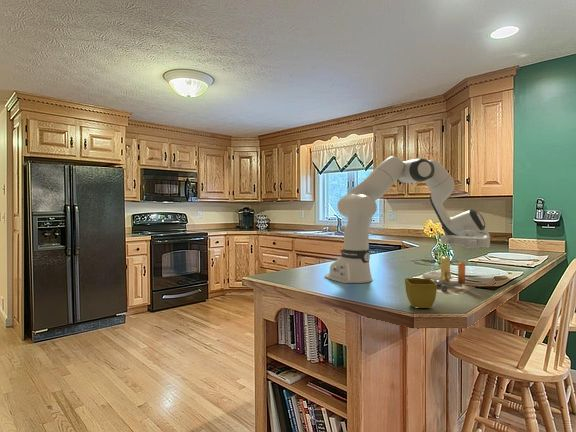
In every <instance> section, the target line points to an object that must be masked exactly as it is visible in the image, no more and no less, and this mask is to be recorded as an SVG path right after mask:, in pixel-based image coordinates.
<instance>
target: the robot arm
mask: <svg viewBox="0 0 576 432" xmlns="http://www.w3.org/2000/svg"><path fill="white" fill-rule="evenodd" d="M396 182H397V183H400V184H416V183H425V184H426V186H427V187H428V188H429V191H430V194H429V201H430V204H431V206H432V209H433V211H434V212H435V214H436V217H437V218H438V221H439V222H440V225H441V228H442V230H443V233H444V234H445V235H441V236H440V243H441V244H444V245H457V246H462V248H464V249H467V250H472V249H481V248H482V249H487V248H490V245H491V234H490V232H489V230H487V228H486V222H485V219H484V217H483V215H482V214H481V213H480V212H478V211H476V210H474V209H468V210H466V211H463V212H461V213H458V214H456V215H454V216H449V215H448V212H447V211H446V208H445V206H444V204H443V203H444V202H445V201H446V200H447V199H448V198H449V197H450V196H451V195H452V194H453V192H454V190H455V184H456V183H455V181H454V178H453V177H452V175H451V174H450V173H449V172H448V170H447V169H446V168H445V167H444V166H443V165H442V164H441V163H440V162H439V161H438V160H436V159H429V160H428V159H425V158H420V157H419V158H413V159H408V160H407V159H406V160H404V161H402V159H401V158H399V157H397V156H389V157H386V158H385V159H384V160H383V161H381V162H380V163H379V164H378V165H377V166H376V167H375V168H374V169H373V170H372V171H371V172H370V173H369V174H368V176H366V177H365V178H364V180H363V181H361V182H360V183H359V184H358V185H357V186H355V187H353V188H352V189H351V190H350V191H349V192H348V193H347V194H345V195H344V196H342V197H341V198H340V199H339V200H338V202H337V211H338V212H339V213H340V214H341V215H342V216H343V217H345V218H348V220H347V224H346V227H345V230H344V231H343V248H342V249H340V250H338V251H339V254H340V256H339V257H338V258H337V259H336V260H335V261H333V262H332V263H331V264H330V266H329V272H328V273H325V275H324V278H325V279H329V280H333V281H335V282H339V283H341V284H350V283H351V284H361V283H362V284H363V283H370V282H372V281H373V276H372V273H371V268H370V259H371V258H370V256H371V253H370V251H371V250H370V248H369V246H370V244H369V240H370V239H369V237H370V236H369V235H370V228H371V223H372V220H373V217H374V215H376V212H377V208H378V205H377V202H376V201H377V200H379V199H381V198H382V197H383V196H384V195H385V194H386V193H387V192H388V190H390V188H391V187H392V186H393V185H394V184H395V183H396Z"/></svg>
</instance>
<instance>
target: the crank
mask: <svg viewBox="0 0 576 432" xmlns="http://www.w3.org/2000/svg"><path fill="white" fill-rule="evenodd" d="M457 265H458V266H457V268H458V269H457V281H450V282H447V281H445V280H439V279H433V280H434V282H435V283H436V284H437V286H442V285H447V286H456V287H462V285H466V263H465V262H463V261H462V262H458V263H457Z"/></svg>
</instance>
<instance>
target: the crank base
mask: <svg viewBox="0 0 576 432" xmlns="http://www.w3.org/2000/svg"><path fill="white" fill-rule="evenodd" d="M431 280H432V281H433V282H434V280H435V279H431ZM475 288H476V287H475V286H470V285H466V284H462V287H456V286H447V285H442V286H437V291H436V293H437V292H438V293H441V294H442V293H443V294H448V295H451V296H452V295H453V296H460V295H462V294H464V293H465V292H466V293H467V292H469V291H470V290H473V289H475Z"/></svg>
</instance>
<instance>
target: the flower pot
mask: <svg viewBox="0 0 576 432" xmlns="http://www.w3.org/2000/svg"><path fill="white" fill-rule="evenodd" d="M432 280H433V279H430V278H417V277H415V278H411V277H410V278H409V277H408V278H406V277H405V278H404V284H405V294H406V296H407V299H408V303H409V304H410V306H412V308H413V307H418V308H430V309H431V308H432V307H433V305H434V303H435V301H436V297H437V292H436V291H437V284H436V283H435V282H433V281H432Z"/></svg>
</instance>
